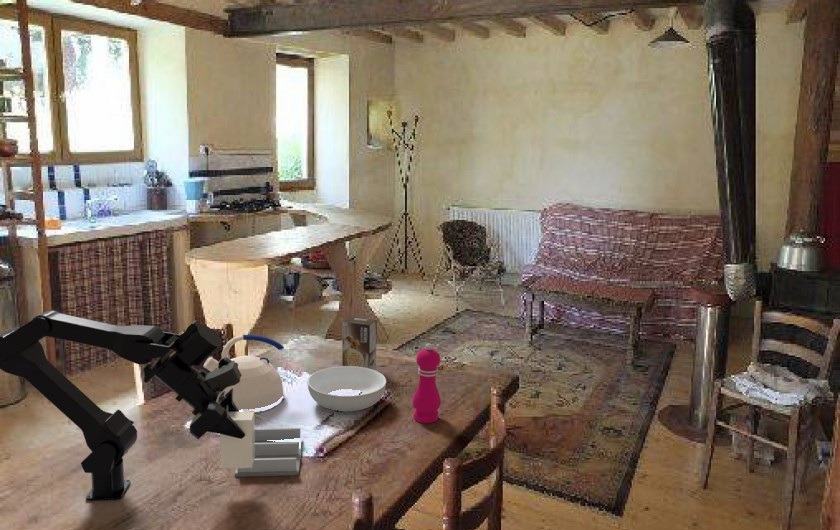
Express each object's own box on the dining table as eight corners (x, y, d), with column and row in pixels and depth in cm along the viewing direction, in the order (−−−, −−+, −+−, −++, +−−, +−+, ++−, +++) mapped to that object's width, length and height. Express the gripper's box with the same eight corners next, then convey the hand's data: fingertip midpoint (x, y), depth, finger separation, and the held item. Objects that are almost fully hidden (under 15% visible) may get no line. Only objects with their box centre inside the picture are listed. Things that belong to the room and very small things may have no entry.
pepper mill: (406, 420, 165) (409, 344, 161) (420, 410, 171) (422, 337, 167) (432, 426, 162) (435, 350, 158) (444, 416, 168) (448, 342, 164)
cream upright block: (252, 467, 127) (251, 420, 125) (220, 468, 127) (219, 420, 125) (254, 457, 131) (254, 411, 129) (224, 458, 130) (223, 411, 129)
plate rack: (298, 474, 137) (298, 459, 136) (234, 476, 135) (234, 461, 134) (302, 441, 152) (302, 427, 151) (245, 442, 150) (245, 428, 149)
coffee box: (377, 370, 199) (378, 319, 196) (369, 377, 193) (370, 325, 190) (349, 366, 202) (350, 316, 199) (341, 372, 196) (341, 321, 193)
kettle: (202, 389, 180) (200, 326, 176) (278, 382, 187) (278, 321, 184) (206, 419, 161) (204, 350, 158) (290, 410, 169) (290, 343, 165)
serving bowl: (294, 414, 166) (294, 389, 165) (325, 385, 186) (325, 362, 185) (371, 425, 161) (372, 399, 160) (395, 394, 181) (395, 370, 180)
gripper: (206, 368, 115) (271, 424, 119) (221, 336, 133) (277, 385, 137) (161, 411, 115) (227, 466, 119) (182, 373, 133) (239, 422, 137)
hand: (244, 431), depth 128 cm, fingers closed on cream upright block, 4 cm apart
